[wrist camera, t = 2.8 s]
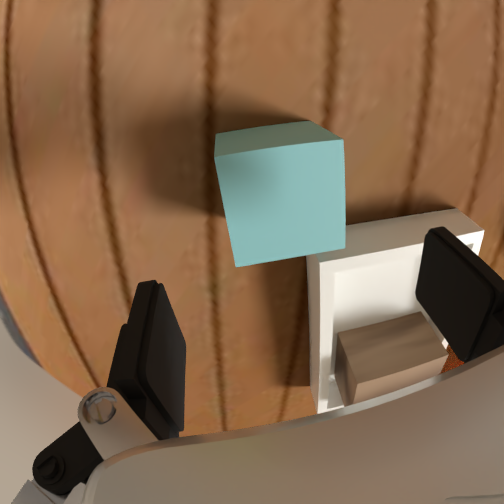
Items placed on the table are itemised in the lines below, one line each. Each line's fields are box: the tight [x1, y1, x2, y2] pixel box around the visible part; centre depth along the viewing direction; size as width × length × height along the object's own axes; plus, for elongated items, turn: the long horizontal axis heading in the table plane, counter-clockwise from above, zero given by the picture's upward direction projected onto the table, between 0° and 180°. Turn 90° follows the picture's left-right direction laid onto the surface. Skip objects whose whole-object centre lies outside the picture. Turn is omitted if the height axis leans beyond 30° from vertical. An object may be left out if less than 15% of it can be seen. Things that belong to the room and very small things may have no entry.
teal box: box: [214, 121, 346, 267], centre depth 18 cm, size 6×6×6 cm
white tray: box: [306, 208, 484, 414], centre depth 27 cm, size 20×14×4 cm
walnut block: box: [334, 311, 449, 407], centre depth 27 cm, size 7×9×6 cm
